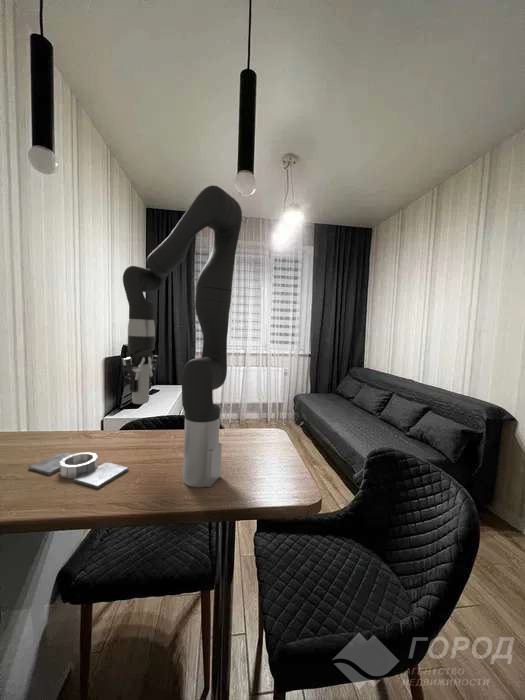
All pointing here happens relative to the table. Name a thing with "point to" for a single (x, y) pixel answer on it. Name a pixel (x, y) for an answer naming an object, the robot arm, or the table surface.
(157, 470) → the table surface
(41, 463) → the hinge model
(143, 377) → the beverage can
